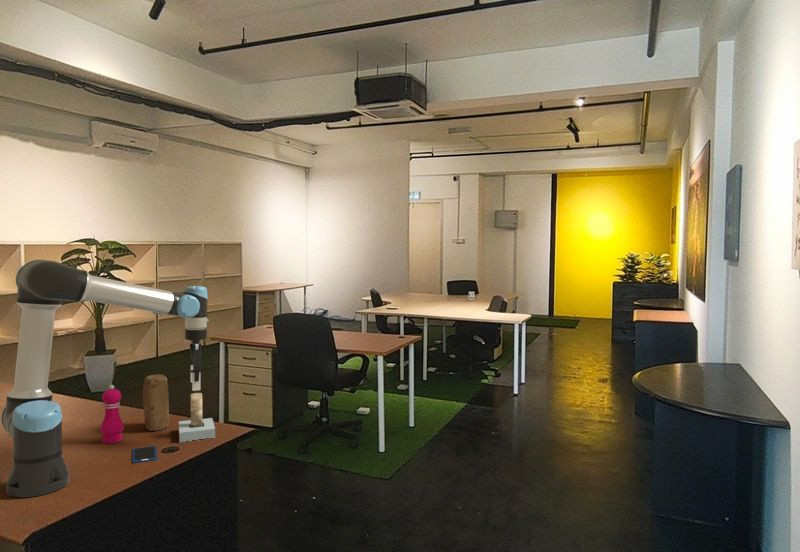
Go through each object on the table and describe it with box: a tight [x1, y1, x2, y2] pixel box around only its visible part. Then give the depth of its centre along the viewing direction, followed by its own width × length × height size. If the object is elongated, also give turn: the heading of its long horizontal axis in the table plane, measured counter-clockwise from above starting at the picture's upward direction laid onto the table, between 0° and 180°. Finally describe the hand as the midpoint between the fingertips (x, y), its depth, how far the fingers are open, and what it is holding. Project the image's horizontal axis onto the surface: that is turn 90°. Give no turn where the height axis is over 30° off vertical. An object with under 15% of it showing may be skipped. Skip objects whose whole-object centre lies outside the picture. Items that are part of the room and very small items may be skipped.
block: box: [142, 373, 170, 432], centre depth 210 cm, size 11×8×20 cm
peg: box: [190, 392, 203, 428], centre depth 203 cm, size 4×4×15 cm
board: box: [178, 417, 216, 443], centre depth 203 cm, size 12×14×4 cm
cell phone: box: [131, 445, 158, 464], centre depth 183 cm, size 7×14×1 cm, turn 26°
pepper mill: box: [100, 384, 124, 444], centre depth 195 cm, size 7×7×20 cm
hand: (195, 386), depth 202 cm, fingers open, 13 cm apart
